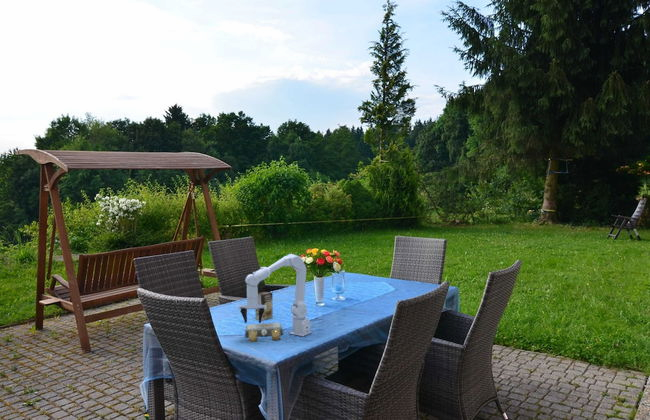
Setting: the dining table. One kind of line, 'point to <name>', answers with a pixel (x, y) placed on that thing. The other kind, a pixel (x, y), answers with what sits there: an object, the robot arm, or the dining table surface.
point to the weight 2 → (276, 334)
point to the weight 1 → (253, 336)
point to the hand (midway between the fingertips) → (252, 322)
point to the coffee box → (267, 300)
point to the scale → (263, 329)
